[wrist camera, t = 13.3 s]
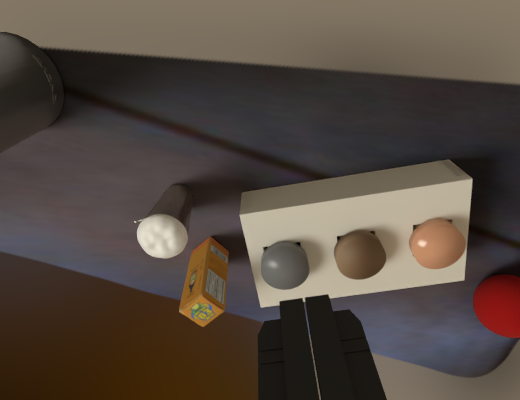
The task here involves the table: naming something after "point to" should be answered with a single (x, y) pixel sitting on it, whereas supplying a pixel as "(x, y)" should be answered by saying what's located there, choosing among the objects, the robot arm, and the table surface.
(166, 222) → the milkshake
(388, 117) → the table surface
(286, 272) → the charcoal knob
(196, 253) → the supplement box
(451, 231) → the terracotta knob
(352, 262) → the walnut knob
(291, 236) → the knob console
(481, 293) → the christmas ornament
